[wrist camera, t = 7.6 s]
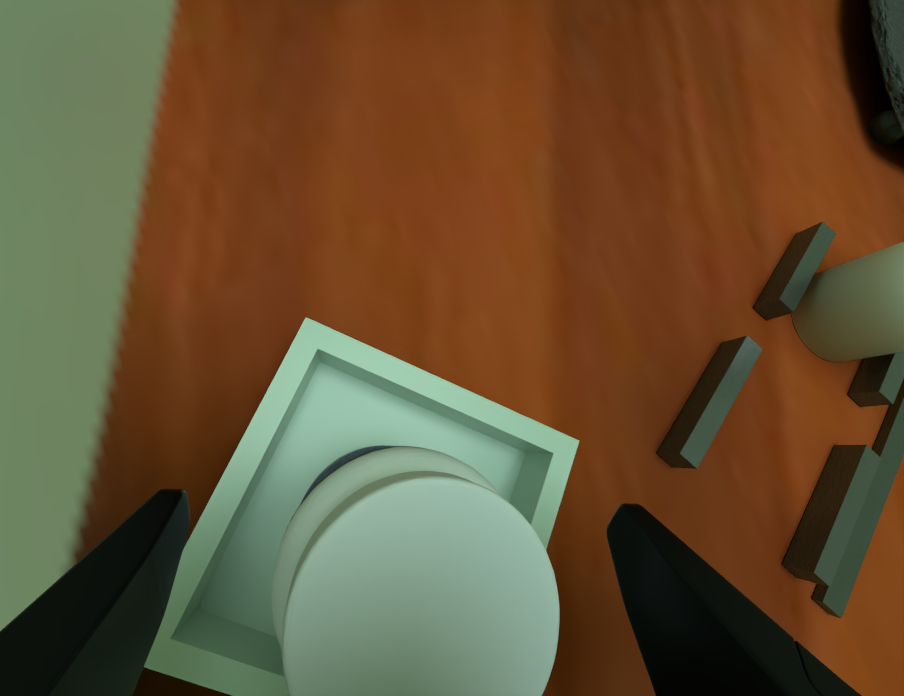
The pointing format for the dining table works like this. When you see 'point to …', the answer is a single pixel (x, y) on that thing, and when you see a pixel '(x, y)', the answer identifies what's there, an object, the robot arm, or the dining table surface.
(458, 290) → the dining table surface
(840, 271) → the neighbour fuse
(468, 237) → the dining table surface
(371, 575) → the pill bottle
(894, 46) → the serving board
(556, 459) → the tray
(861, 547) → the set of grey bars
